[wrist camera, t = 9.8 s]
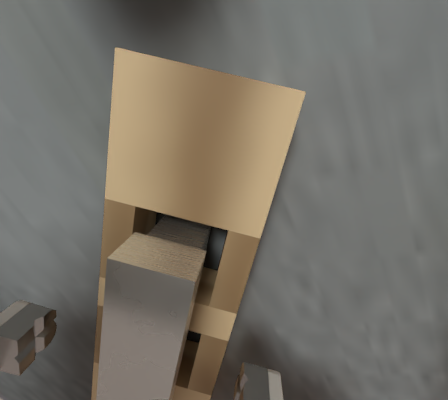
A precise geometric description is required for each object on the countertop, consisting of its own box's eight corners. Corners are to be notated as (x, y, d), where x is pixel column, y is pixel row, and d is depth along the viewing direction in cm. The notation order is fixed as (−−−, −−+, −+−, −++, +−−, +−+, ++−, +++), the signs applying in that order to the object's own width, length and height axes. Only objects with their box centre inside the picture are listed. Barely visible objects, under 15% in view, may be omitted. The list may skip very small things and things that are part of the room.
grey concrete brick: (148, 322, 16) (94, 427, 11) (168, 201, 14) (107, 258, 8) (191, 334, 16) (158, 447, 11) (219, 214, 13) (195, 282, 8)
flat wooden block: (114, 379, 19) (89, 425, 16) (149, 66, 11) (115, 47, 9) (201, 404, 18) (192, 456, 15) (292, 99, 11) (305, 91, 8)
